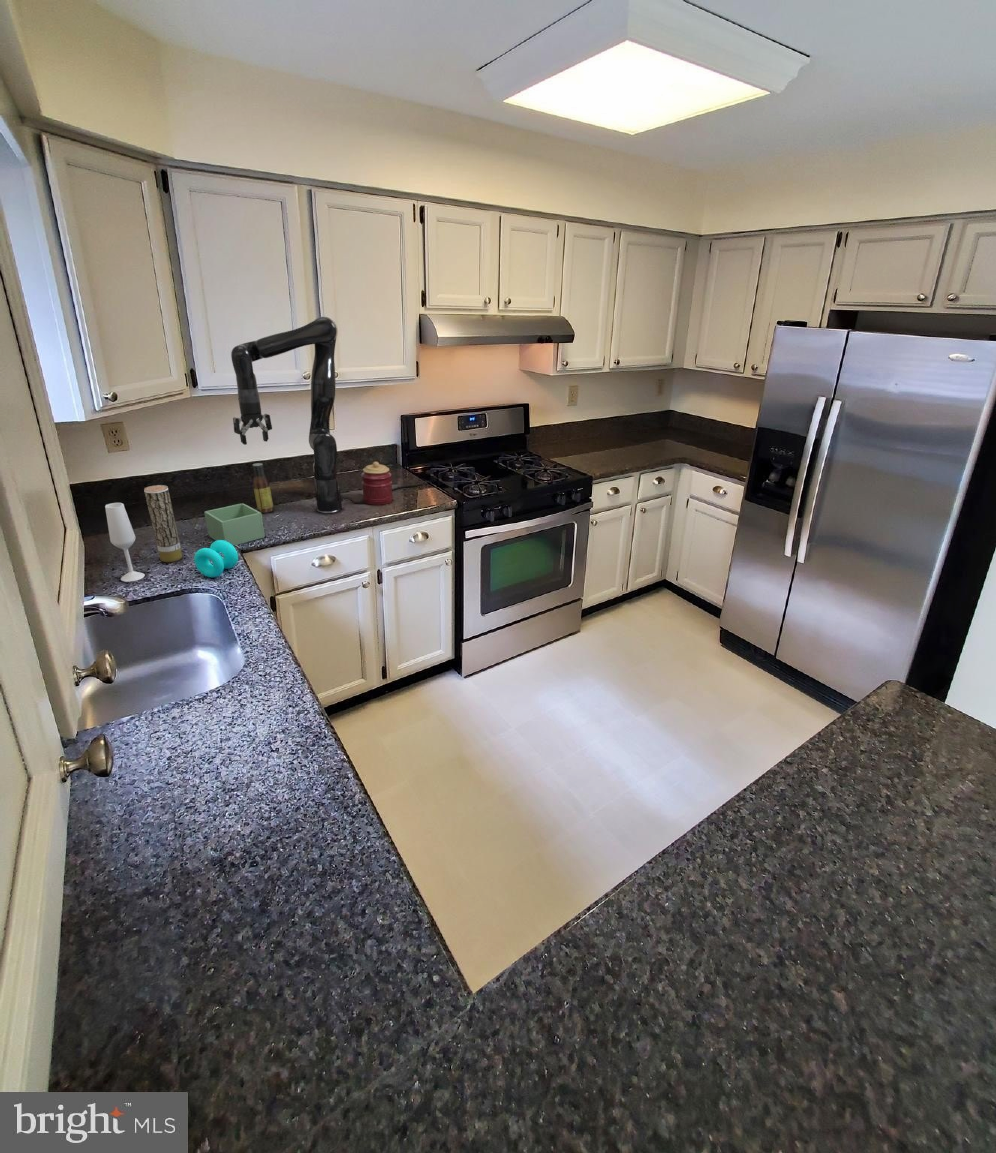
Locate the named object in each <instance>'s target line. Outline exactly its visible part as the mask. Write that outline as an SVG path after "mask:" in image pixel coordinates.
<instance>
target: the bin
mask: <svg viewBox="0 0 996 1153" xmlns="http://www.w3.org/2000/svg"><path fill="white" fill-rule="evenodd" d="M262 514H263V513H261V512H259V511H258V510H256V509H254V508H253V507H251V506H249V505H247V504H245V503H237V504H232V505H228V506H223V507H219V508H214V509H209V510H206V511H204V517H205V522H206V528H207V533H208V537H209V538H211V539H212V540H214V541H217V540H224V541H227V542H229V543H230V544H232V545H233V546H234V547H235V546H237V545H241V544H244V543H249V542H253V541H256V540H260V539H264V538H265V537H266V536H265V529H264V521H263V515H262Z"/></svg>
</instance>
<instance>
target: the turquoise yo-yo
mask: <svg viewBox="0 0 996 1153" xmlns="http://www.w3.org/2000/svg"><path fill="white" fill-rule="evenodd" d="M222 555H223V556H222ZM193 561H194V565H195V567H196V569H197V570H198V572H199V573H201V574H202V575H203V576H205V577H206V578H218V577H219V576H221V575H222V574H223V572H224V570H225V569H226V570H230V569H232V568H234V567H236V565H237V564H238V561H239V553H238V551H237V549H236V547H235V545H234V546H233V545H232V544H230V543H229V542H227V541H224V540H217V541H216V540H214V541H213V542H212V543H211V545H210V546H209V547H202V548H200V549H198V550H197V551H196V552H195V554H194V558H193Z"/></svg>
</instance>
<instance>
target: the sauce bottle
mask: <svg viewBox="0 0 996 1153" xmlns="http://www.w3.org/2000/svg"><path fill="white" fill-rule="evenodd" d="M251 466H252V469H253V475H254V476H253V479H252V485H253V491H254V498H255V502H256V508H257V511H258V512H260V513H261V514H269V513H272V512H273V511H274V502H273V497H272V491H271V485H270V483H269V481H268V479H267V477H266V474H265V471H264V464H263V463H261V462H257V463H253V464H252V465H251Z"/></svg>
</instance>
